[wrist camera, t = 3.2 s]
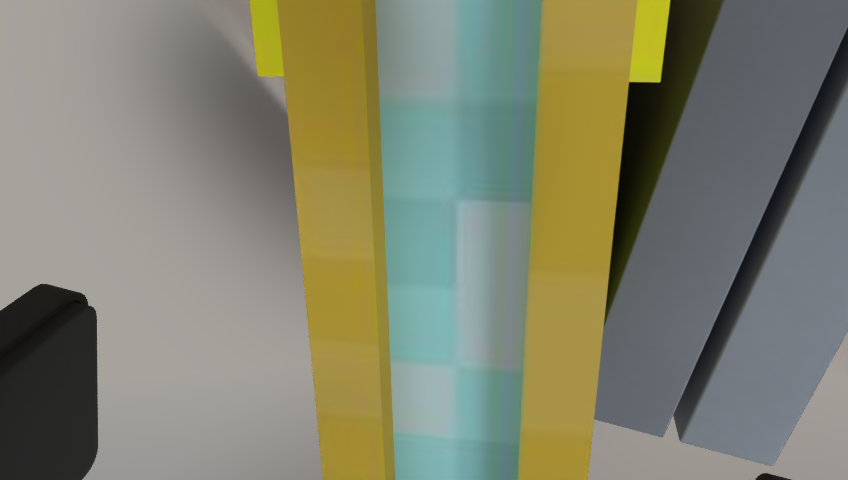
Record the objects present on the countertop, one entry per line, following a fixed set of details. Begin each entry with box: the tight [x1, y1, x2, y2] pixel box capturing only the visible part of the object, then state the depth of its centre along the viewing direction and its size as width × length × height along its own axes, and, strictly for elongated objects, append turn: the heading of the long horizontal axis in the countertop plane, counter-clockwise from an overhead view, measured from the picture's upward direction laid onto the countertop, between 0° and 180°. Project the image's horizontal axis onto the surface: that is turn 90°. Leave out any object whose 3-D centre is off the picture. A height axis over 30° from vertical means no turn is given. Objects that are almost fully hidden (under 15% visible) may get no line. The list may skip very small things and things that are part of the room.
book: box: [249, 0, 670, 480], centre depth 25 cm, size 17×7×25 cm, turn 1°
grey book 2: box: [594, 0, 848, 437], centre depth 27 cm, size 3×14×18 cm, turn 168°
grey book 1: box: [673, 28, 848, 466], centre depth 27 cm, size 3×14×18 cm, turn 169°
